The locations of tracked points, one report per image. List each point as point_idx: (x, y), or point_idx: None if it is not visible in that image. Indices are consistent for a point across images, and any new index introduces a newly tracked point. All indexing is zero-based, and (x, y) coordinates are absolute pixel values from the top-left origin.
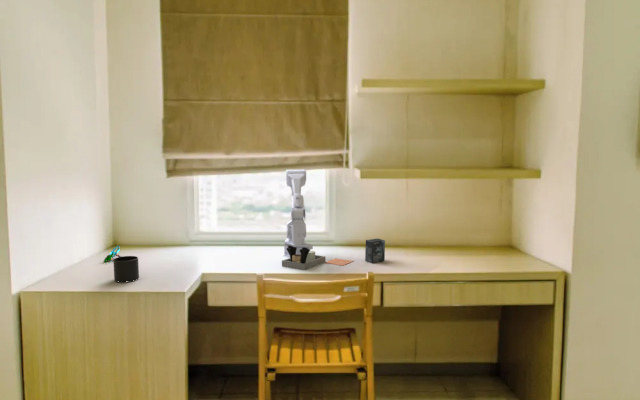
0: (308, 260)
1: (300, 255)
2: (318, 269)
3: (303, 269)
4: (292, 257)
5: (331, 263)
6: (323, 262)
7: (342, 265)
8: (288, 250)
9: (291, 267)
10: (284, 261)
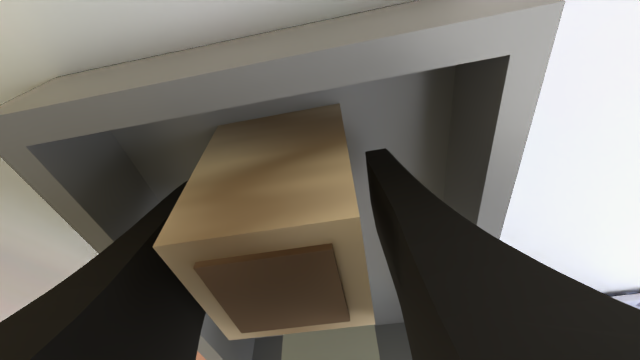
0: None
1: (221, 300)
2: None
3: (60, 81)
4: (349, 188)
5: None
6: None
7: None
8: (560, 321)
9: (282, 32)
10: (473, 16)
